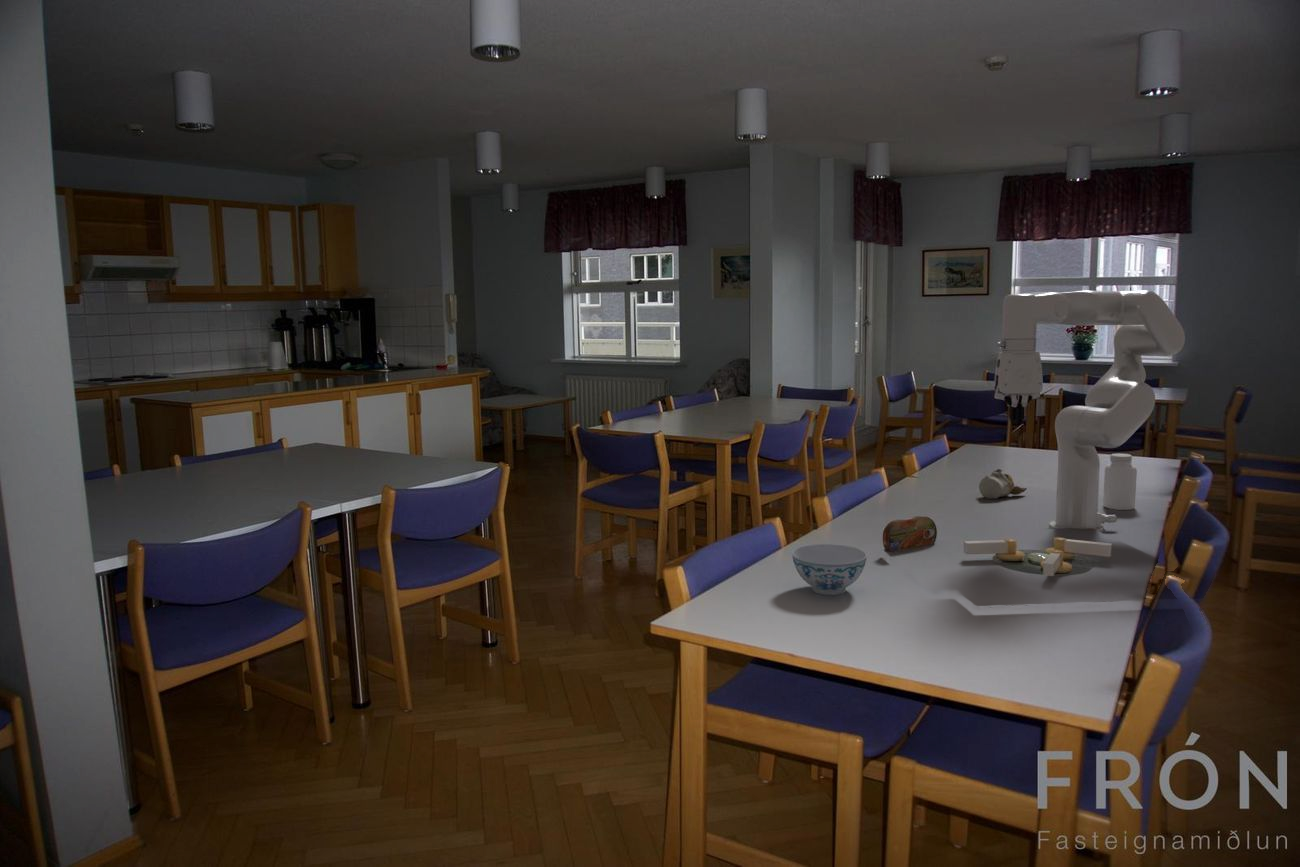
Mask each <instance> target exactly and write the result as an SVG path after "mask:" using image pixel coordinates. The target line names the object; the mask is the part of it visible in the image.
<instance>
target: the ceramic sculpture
mask: <svg viewBox="0 0 1300 867" xmlns="http://www.w3.org/2000/svg"><path fill="white" fill-rule="evenodd" d="M978 488H979V492H980V495H981V496H982V497H983V498H986V499H988V500H995V499H998V498H1003V497H1007V496H1008V495H1014V496H1015V495H1020V494H1022V493H1024V492H1025V491H1026V490H1027V487H1021V486H1018V485H1015V483H1014V480H1013V477H1012V476H1011V475H1010V474H1009V473H1006V472H1003V471H1002V469H1000V468H999V469H996V470H994V471H992V472H991V474H990V475H989V476H988V475H986V476H984V477H983V478H982V479H981V480H980V482H979V484H978Z"/></svg>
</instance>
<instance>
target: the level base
mask: <svg viewBox="0 0 1300 867" xmlns="http://www.w3.org/2000/svg"><path fill="white" fill-rule="evenodd" d="M1017 550H1018V551H1021V552H1023V553H1024V554H1025V555H1024V560H1020V561H1007V560H1001V559H998V558H996V557H995V554H994V555H993V556H992V560H993V562H994V564H996V565H998V566H1000V567H1002V568H1005V569H1009V570H1012V571H1014V572H1015V571H1016V572H1021V573H1024V574H1025V573H1026V574H1032V575H1040V576H1044V575H1043V570H1042V569H1041V568H1040V567H1041V562H1042V561H1045V560H1046V559H1047V558H1048V556H1049V555H1050V554H1045V550H1044V549H1043V550H1042V549H1017ZM1063 562H1067V563H1069V564H1071V565H1072V571H1071V572H1068V573H1055V574H1054V575H1053V576H1073V575H1075V576H1076V575H1080V574H1081V575H1082V574H1085V573H1087V572H1090V571H1092V569H1093V564H1092V563H1091V562H1090V561H1089V560H1087V559H1084V558H1082V557H1081V556H1080V557H1079V556H1077V555H1075V558H1073V559H1063Z"/></svg>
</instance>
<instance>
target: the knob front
mask: <svg viewBox="0 0 1300 867" xmlns="http://www.w3.org/2000/svg"><path fill="white" fill-rule="evenodd" d="M1040 568H1041V569H1042V570H1043V575H1042V576H1046V577H1047V576H1048V577H1054V576H1055V575H1054V574H1055V573H1068V572H1071V571H1072V565H1071V564H1069V563H1067V562H1063V551H1061V550H1050V555H1049V556H1048V558H1047V559H1046V560H1045V561H1042V562H1041V567H1040Z"/></svg>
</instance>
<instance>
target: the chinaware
mask: <svg viewBox="0 0 1300 867" xmlns="http://www.w3.org/2000/svg"><path fill="white" fill-rule="evenodd" d="M791 556H792V560H793V564H794V567H795V569H796V571H797V573H798V575H799V576H800V577H801V579H802V580H803V581H804V582H805V583H806V584H808V585H809V586H811V587H812V588H811V589H812V591H813V592H814V593H816V594H819V595H826V596H836V595H842V594H844V593H845V592H846V589H847V588H848V587H849V586H851V585H853V584H854V583H855V582H856V581H857V580H858V579H859V577H860V576H861V574H862V572H863V570H864V568H865V565H866V561H867V559H868V558H867V557H868V555H867V553H866V552H865V551H864V550H862V549H860V548H857V547H854V546H849V545H843V544H835V543H834V544H832V543H830V544H829V543H821V544H819V543H817V544H807V545H802V546H800V547H797V548H794V550H792V551H791Z"/></svg>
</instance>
